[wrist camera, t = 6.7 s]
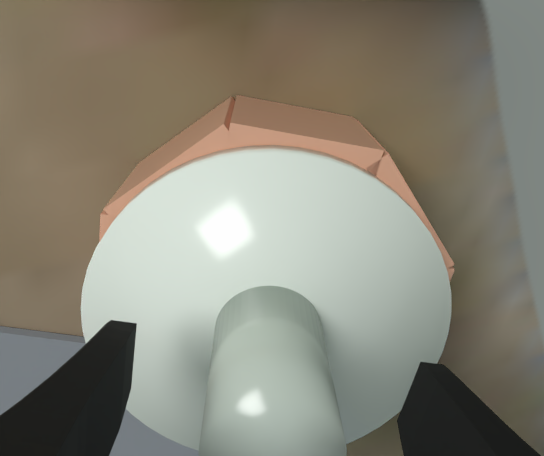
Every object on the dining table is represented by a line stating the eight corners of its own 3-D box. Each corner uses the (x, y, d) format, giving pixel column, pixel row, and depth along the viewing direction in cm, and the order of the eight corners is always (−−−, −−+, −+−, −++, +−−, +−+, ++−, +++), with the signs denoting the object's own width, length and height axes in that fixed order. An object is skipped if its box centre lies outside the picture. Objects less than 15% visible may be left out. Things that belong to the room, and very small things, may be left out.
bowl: (437, 132, 17) (494, 170, 13) (361, 360, 22) (386, 442, 17) (143, 77, 16) (105, 100, 12) (125, 329, 20) (92, 408, 16)
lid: (505, 205, 14) (638, 309, 9) (365, 465, 18) (404, 627, 13) (122, 93, 12) (34, 145, 7) (68, 408, 16) (-9, 569, 12)
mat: (243, 357, 21) (243, 363, 21) (208, 528, 26) (207, 536, 26) (-37, 321, 20) (-43, 326, 20) (-19, 507, 25) (-23, 515, 25)
